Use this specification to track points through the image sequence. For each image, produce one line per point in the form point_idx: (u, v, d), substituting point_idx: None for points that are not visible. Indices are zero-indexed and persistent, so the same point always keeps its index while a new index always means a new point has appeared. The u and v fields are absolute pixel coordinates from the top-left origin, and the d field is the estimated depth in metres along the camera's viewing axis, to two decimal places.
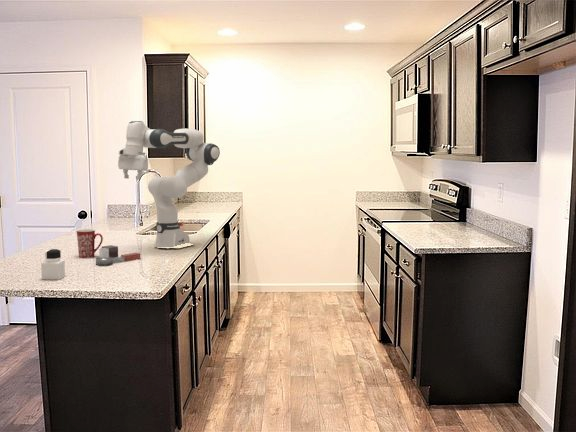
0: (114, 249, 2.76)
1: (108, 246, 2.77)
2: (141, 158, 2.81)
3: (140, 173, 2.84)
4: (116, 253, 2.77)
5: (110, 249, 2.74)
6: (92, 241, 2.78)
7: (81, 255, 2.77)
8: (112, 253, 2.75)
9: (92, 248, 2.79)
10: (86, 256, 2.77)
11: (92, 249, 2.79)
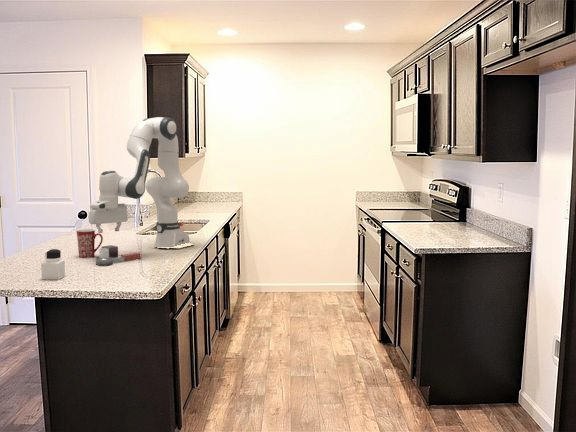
0: (114, 249, 2.76)
1: (108, 246, 2.77)
2: (125, 209, 2.80)
3: None
4: (116, 253, 2.77)
5: (110, 249, 2.74)
6: (92, 241, 2.78)
7: (81, 255, 2.77)
8: (112, 253, 2.75)
9: (92, 248, 2.79)
10: (86, 256, 2.77)
11: (92, 249, 2.79)
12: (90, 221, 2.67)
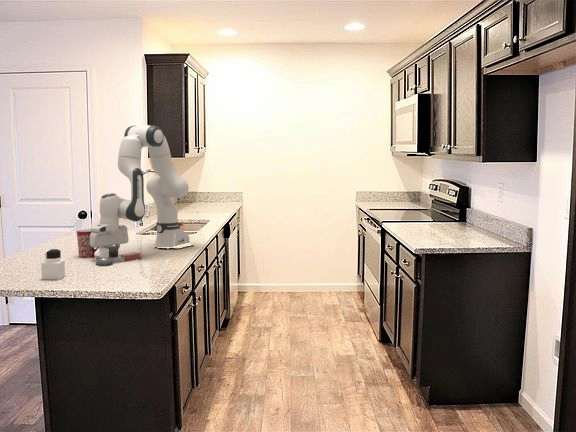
0: (114, 249, 2.76)
1: (108, 246, 2.77)
2: (126, 231, 2.81)
3: None
4: (116, 253, 2.77)
5: (110, 249, 2.74)
6: None
7: (81, 255, 2.77)
8: (112, 253, 2.75)
9: (92, 248, 2.79)
10: (86, 256, 2.77)
11: (92, 249, 2.79)
12: (91, 244, 2.68)
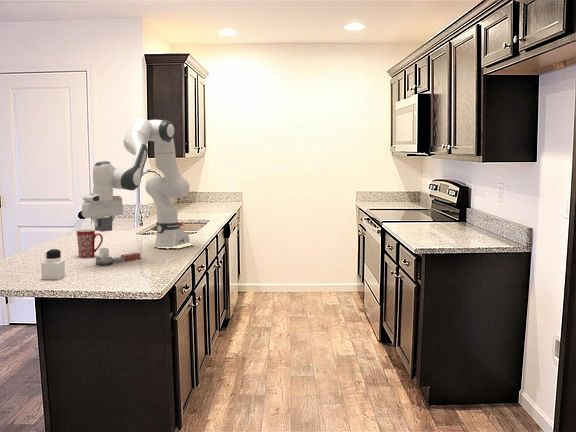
0: (108, 220, 2.60)
1: (102, 217, 2.61)
2: (121, 202, 2.66)
3: None
4: (110, 225, 2.61)
5: (104, 220, 2.58)
6: (92, 241, 2.78)
7: (81, 255, 2.77)
8: (106, 224, 2.59)
9: (92, 248, 2.79)
10: (86, 256, 2.77)
11: (92, 249, 2.79)
12: (83, 215, 2.53)
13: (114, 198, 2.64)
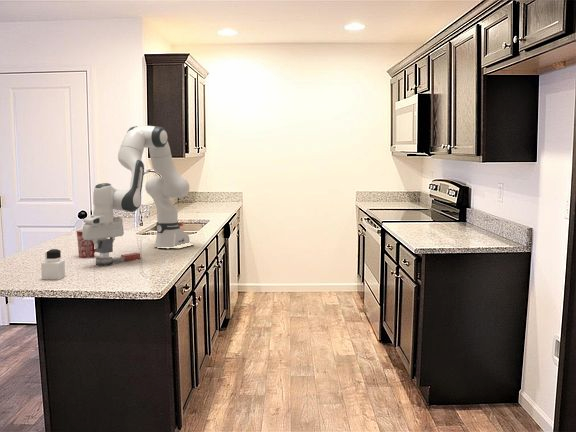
0: (108, 242, 2.61)
1: (102, 239, 2.62)
2: (121, 223, 2.67)
3: None
4: (110, 246, 2.62)
5: (104, 242, 2.59)
6: (92, 241, 2.78)
7: (81, 255, 2.77)
8: (106, 246, 2.60)
9: (92, 248, 2.79)
10: (86, 256, 2.77)
11: (92, 249, 2.79)
12: (84, 237, 2.54)
13: (114, 219, 2.65)
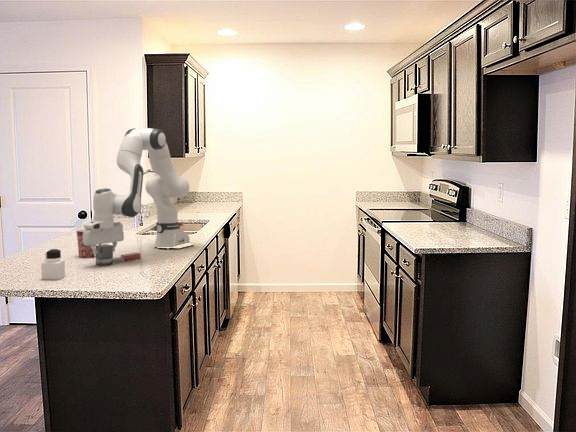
0: (109, 248, 2.61)
1: (102, 245, 2.63)
2: (121, 228, 2.67)
3: None
4: (111, 252, 2.63)
5: (104, 248, 2.60)
6: None
7: (81, 255, 2.77)
8: (106, 252, 2.61)
9: None
10: (86, 256, 2.77)
11: None
12: (84, 242, 2.54)
13: (114, 224, 2.65)
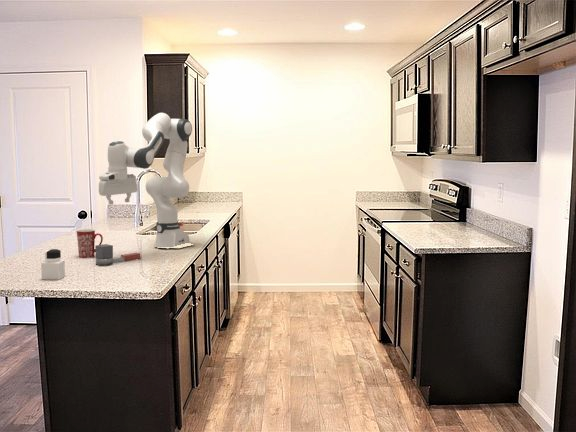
0: (109, 248, 2.61)
1: (102, 245, 2.63)
2: (134, 180, 2.78)
3: None
4: (111, 252, 2.63)
5: (104, 248, 2.60)
6: (92, 241, 2.78)
7: (81, 255, 2.77)
8: (106, 252, 2.61)
9: (92, 248, 2.79)
10: (86, 256, 2.77)
11: (92, 249, 2.79)
12: (100, 193, 2.66)
13: (128, 176, 2.77)
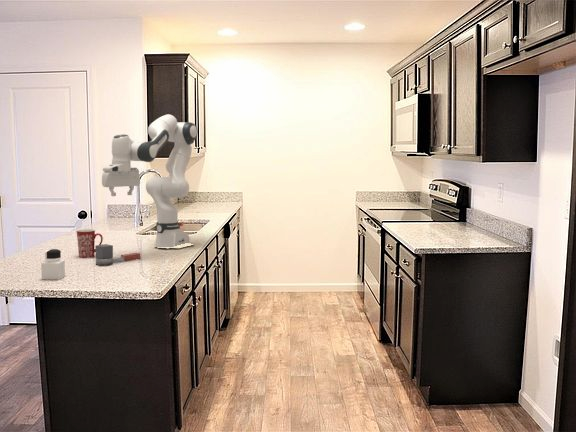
0: (109, 248, 2.61)
1: (102, 245, 2.63)
2: (137, 174, 2.81)
3: None
4: (111, 252, 2.63)
5: (104, 248, 2.60)
6: (92, 241, 2.78)
7: (81, 255, 2.77)
8: (106, 252, 2.61)
9: (92, 248, 2.79)
10: (86, 256, 2.77)
11: (92, 249, 2.79)
12: (103, 184, 2.68)
13: (131, 169, 2.80)
